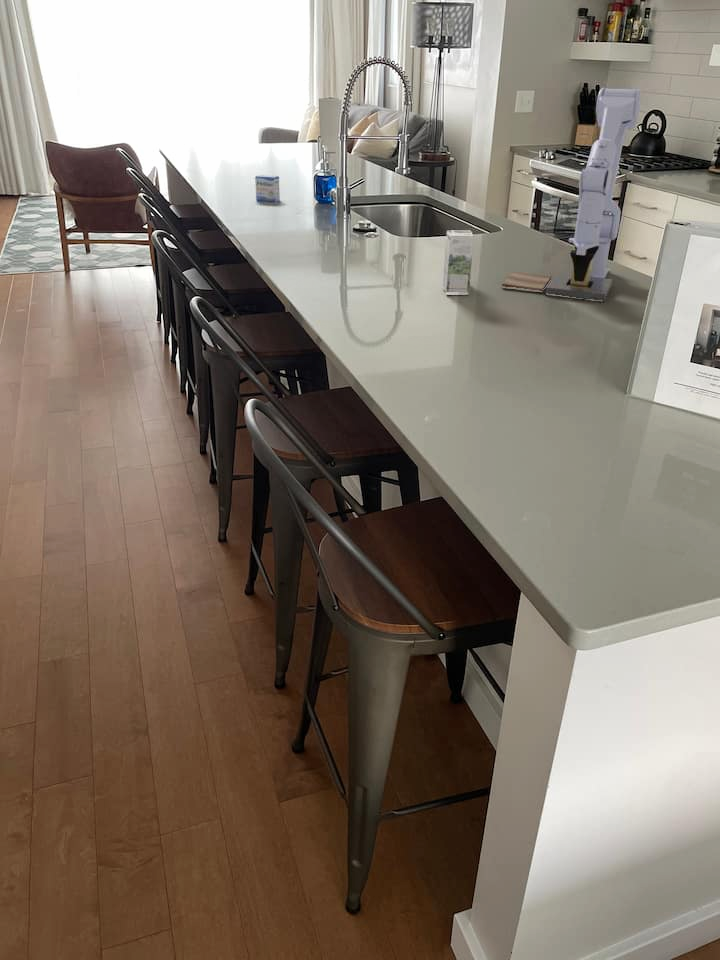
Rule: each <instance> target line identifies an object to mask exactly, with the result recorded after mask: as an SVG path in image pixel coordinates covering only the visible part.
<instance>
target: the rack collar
mask: <svg viewBox="0 0 720 960" xmlns="http://www.w3.org/2000/svg"><path fill="white" fill-rule="evenodd" d="M571 276H572V274H568V273H567V274H566V273H558V272H557V273H555V274H554V276H553V277H551V281H550V283H549V284H548V285H547V287H546V289H545V290H544V291H545V292H544V294H545V293H548V294H555V295H562V296H569V297H576V298H583V299H594V300H602V301H606V300H605V298H606V299H607V297H608V295H609V293H610V291H611V289H612V285H613V279H612V278H595V277H590V281H589V288H587V287H578V286H569V285H570V283H571ZM610 288H611V289H610ZM609 290H610V291H609ZM608 292H609V293H608ZM607 294H608V295H607ZM606 296H607V297H606Z"/></svg>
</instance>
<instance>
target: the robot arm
mask: <svg viewBox="0 0 720 960" xmlns="http://www.w3.org/2000/svg"><path fill="white" fill-rule="evenodd" d="M642 97H643V92H642V90H641V88H637V89H635V88H634V89H631V88H605V87H602V88H601V89H600V90H599V92H598V94H597V100H596V105H595V114H596V122H597V126H598V127H599V128H600V131H599V132H600V133H599V137H598V139H597V140H595V141H594V143H592V146H591V148H590V152H589V156H588V160H587V163H586V166H585V168H582V170H581V172H580V177H579V182H578V184H579V185H578V190H579V191H578V192H579V193H578V201H579V203H578V210H577V215H576V216H577V217H576V223H575V230H574V237H570V238H568V242H569V243H572V244H573V245H574V249H571V251H570V254H569V255H570V258H571V260H572V264H573V265H572V267H573V266H574V280H575V281H580V282H583V281H584V279H585V276H586V273H587V270H588V267H589V264H590V262H591V260H592V258H593V262H592V268H591V275H590V277H596V278H604V279H606V277H607V275H608V272H609V270H610V269H609V268H607V263H608V257H609V251H610V245H611V241H614V240H615V239H616V238H617V236H618V232H619V229H620V221H621V213H622V211H621V208H620V206H618V205H617V203H615V202H614V201H613V195H614V192H615V187H616V181H617V177H618V175H617V174H618V170H619V165H620V160H621V154H622V150H623V144H624V141H625V138H626V136H627V133H628V132H629V131H630V130H633V129H634V128H636V124H637V123H638V119H639V116H640V115H639V114H640V109H641V105H642Z"/></svg>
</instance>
